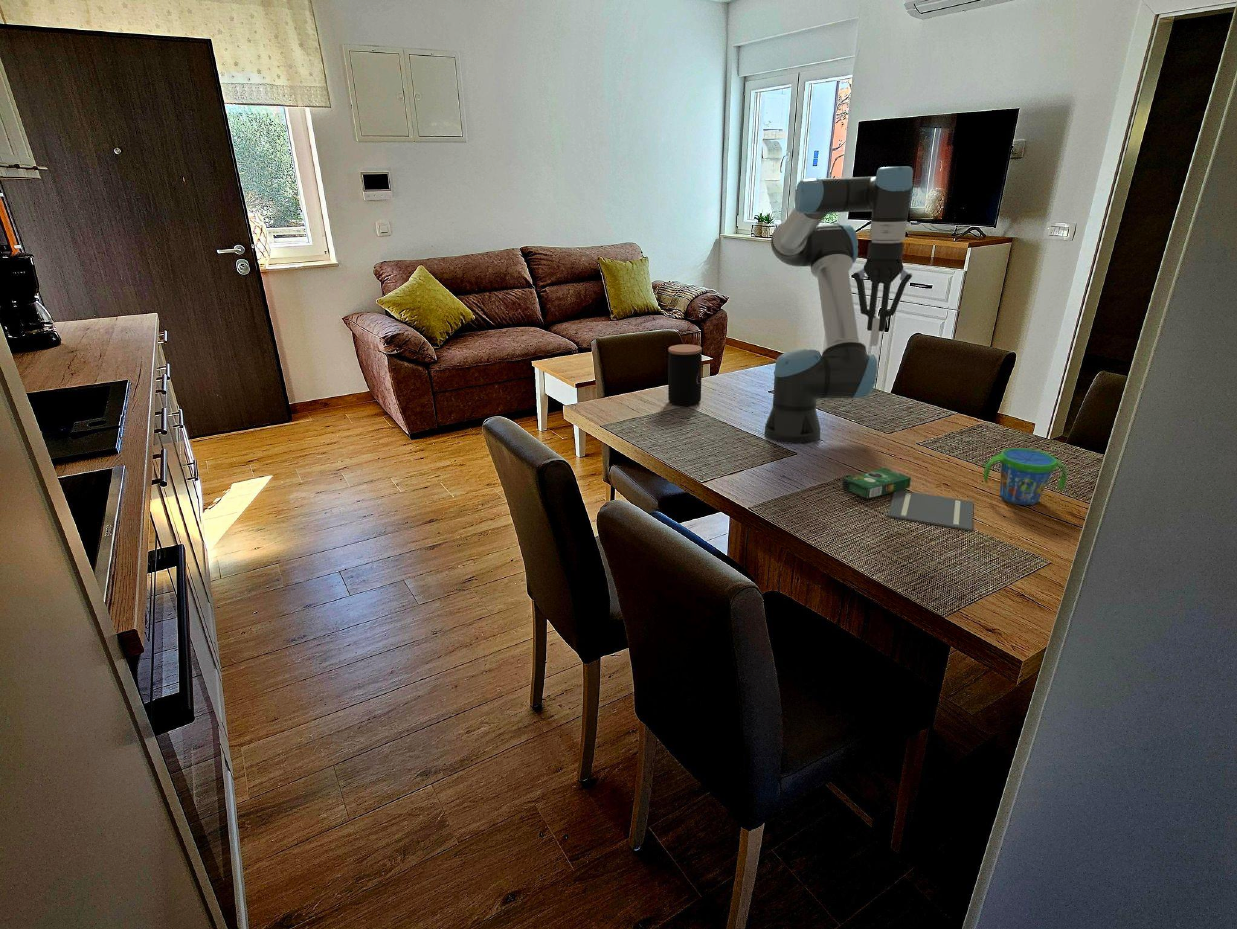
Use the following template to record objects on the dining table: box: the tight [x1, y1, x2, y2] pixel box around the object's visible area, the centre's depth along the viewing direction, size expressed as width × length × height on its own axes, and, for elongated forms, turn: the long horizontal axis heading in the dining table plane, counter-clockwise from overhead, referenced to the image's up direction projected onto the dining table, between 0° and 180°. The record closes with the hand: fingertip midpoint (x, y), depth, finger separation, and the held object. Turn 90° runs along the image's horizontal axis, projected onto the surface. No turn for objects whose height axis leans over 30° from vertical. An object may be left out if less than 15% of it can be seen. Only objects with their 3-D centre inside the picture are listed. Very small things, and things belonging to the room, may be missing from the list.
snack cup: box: [983, 447, 1068, 506], centre depth 146 cm, size 16×10×10 cm
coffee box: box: [842, 467, 912, 499], centre depth 154 cm, size 8×3×13 cm
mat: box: [887, 489, 974, 532], centre depth 144 cm, size 16×14×1 cm
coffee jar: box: [667, 343, 703, 408], centre depth 216 cm, size 11×11×18 cm
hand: (873, 344), depth 161 cm, fingers closed
